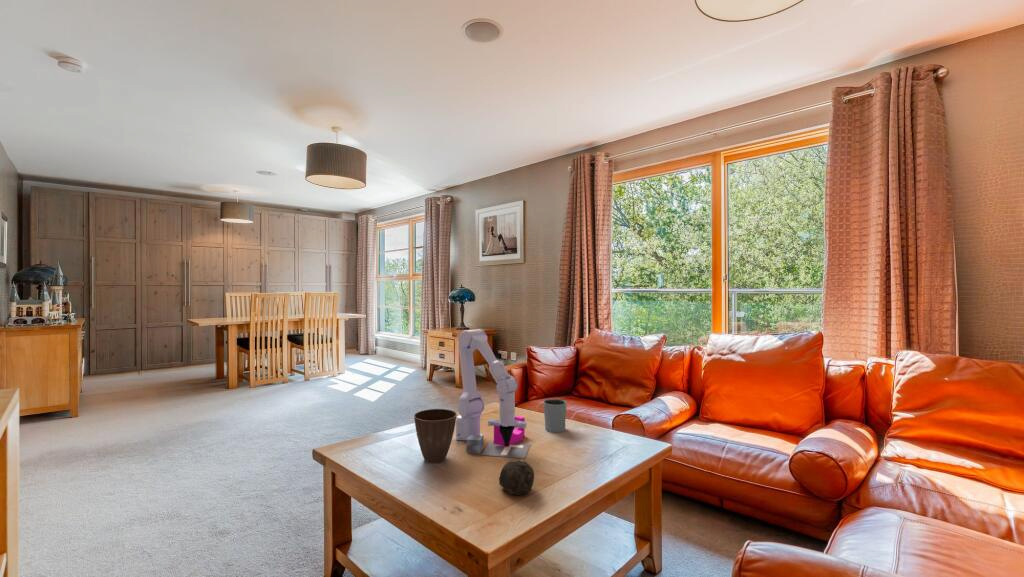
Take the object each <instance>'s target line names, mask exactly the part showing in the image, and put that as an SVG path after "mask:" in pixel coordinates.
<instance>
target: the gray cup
mask: <svg viewBox="0 0 1024 577" xmlns="http://www.w3.org/2000/svg"><path fill="white" fill-rule="evenodd" d="M567 403H568V402H567V401H566V400H565V399H559V398H549V399H544V400H543V401H542V404H543V412H544V415H543V416H544V429H545V431H547V432H549V433H557V434H558V433H563V432H565V431H566V419H567V418H566V415H567Z"/></svg>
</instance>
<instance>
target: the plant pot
mask: <svg viewBox="0 0 1024 577" xmlns="http://www.w3.org/2000/svg"><path fill="white" fill-rule="evenodd" d="M413 416H414V417H413V418H414V424H415V431H416V432H415V433H416V436H417V440H418V445H419V447H420V451H421V454H422V455H421V456H422V457H423V459H424V462H426V463H430V464H439V463H442V462H444V461H445V460H446V459H447V456H448V453H449V450H450V448H451V447H450V446H451V443H452V440H453V436H454V433H455V428H456V421H457V417H458V416H457V412H456V411H454V410H451V409H446V408H431V409H424V410H421V411H418V412H417V411H416V413H414V414H413Z"/></svg>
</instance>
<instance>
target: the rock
mask: <svg viewBox="0 0 1024 577" xmlns="http://www.w3.org/2000/svg"><path fill="white" fill-rule="evenodd" d="M534 482H535V471H534V468H533V467H532V466H531V465H530V464H529V463H528V462H526V461H525V460H524V461H522V460H520V459H518V460H514V461H513V460H510V461H507V462H506V463H505V464H504V465H503V467H502V469H501V470H500V474H499V477H498V483H499V485H500V486H501V487H502V488H503V490H505V491H507V492H508V493H509V494H511V495H515V496H521V495H523V494H525V493H527V492H531V491H532V488H533V486H534Z"/></svg>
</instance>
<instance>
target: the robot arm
mask: <svg viewBox="0 0 1024 577" xmlns="http://www.w3.org/2000/svg"><path fill="white" fill-rule="evenodd" d="M457 339H458V346H459V347H458V351H459V361H460V362H459V363H460V372H461V381H462V390H463V391H462V393H461V395H460V397H459V398H458V407H457V410H458V413H459V415H458V416H456V422H455V428H456V429H455V434H456V435H455V440H456V441H467V439H468V437H469V436H470V435H480V436H483V437H484V433H481V416H482V413H483V411H484V410H485V402H484V400H483V396H482V394H481V393H480V392H479V391H478V389H477V388H478V387H477V379H476V371H475V362H474V352H475V350H478V351H479V352H480V353H481V355H482V356H483V358H484V360H485V361H486V363H488V366H489V367H488V371H489V372H490V374H491V376H492V377H493V380H494V381H495V383H496V384H497V385H496V386H495V387H496V388H495V389H496V391H497V393H498V398H499V419H497V418H496V419H488V420H487V426H488V427H491V426H492V427H494V426H500V428H499V431H500V433H501V435H502V437H503V440H504V445H505V447H508V446H509V444H510V439H511V435H512V433H513V430H514V428H515V427H518V428H524V429H526V428H527V421H525V422H522V421H517V420H515V417H516V413H515V410H516V407H515V404H516V402H515V401H516V398H515V397H516V396H515V395H516V394H515V393H516V391H517V390H518V387H519V382H518V380H517V378H516V377H514V376H512V375H511V374H509V372H508V370H507V368H506V367H505V364H504V363H503V362H502V361H501V360H500V361H499V360H497V357H496V355H495V354H494V352H493V350H492V348H491V346H490V344H489V342H488V339H489V338H488V335H487V334H486V332H485V330H484V329H482V328H478V329H470V330H469V329H467V330H462V331H461V332H460V334H459V335H458V338H457Z"/></svg>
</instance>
